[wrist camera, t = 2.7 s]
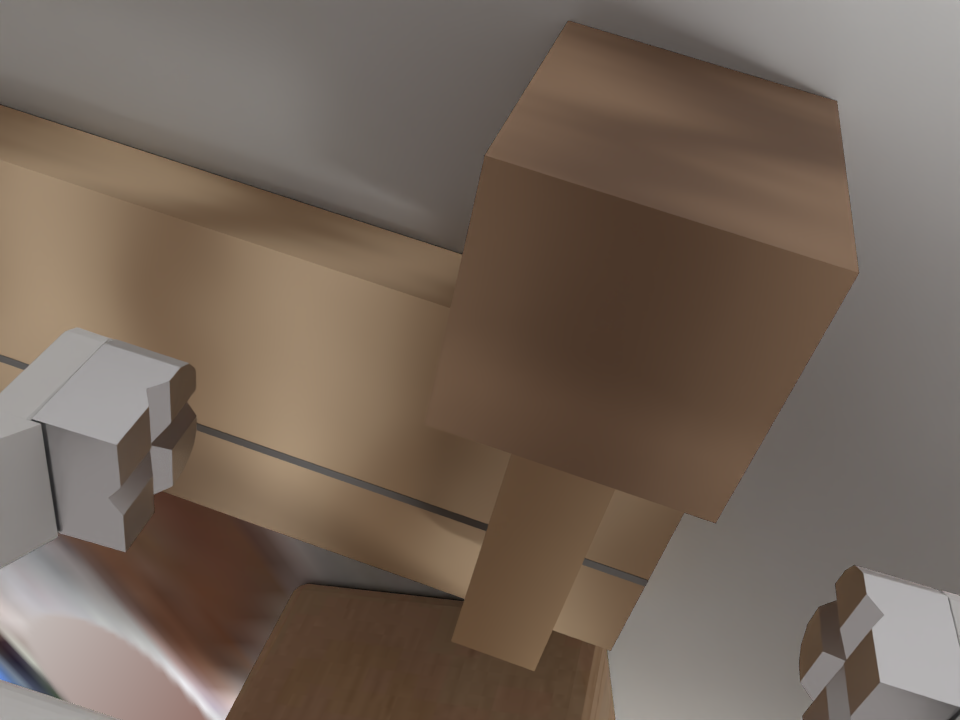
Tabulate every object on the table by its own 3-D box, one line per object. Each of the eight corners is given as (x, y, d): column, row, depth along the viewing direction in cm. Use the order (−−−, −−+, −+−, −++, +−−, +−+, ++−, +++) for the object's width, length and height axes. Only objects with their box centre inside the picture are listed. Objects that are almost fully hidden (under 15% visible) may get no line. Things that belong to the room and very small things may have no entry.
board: (744, 346, 19) (741, 404, 18) (621, 590, 25) (610, 651, 24) (-241, 26, 21) (-322, 54, 20) (-148, 322, 27) (-205, 361, 25)
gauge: (837, 100, 16) (859, 272, 11) (625, 538, 24) (588, 745, 19) (568, 20, 16) (484, 154, 12) (448, 477, 24) (369, 665, 20)
